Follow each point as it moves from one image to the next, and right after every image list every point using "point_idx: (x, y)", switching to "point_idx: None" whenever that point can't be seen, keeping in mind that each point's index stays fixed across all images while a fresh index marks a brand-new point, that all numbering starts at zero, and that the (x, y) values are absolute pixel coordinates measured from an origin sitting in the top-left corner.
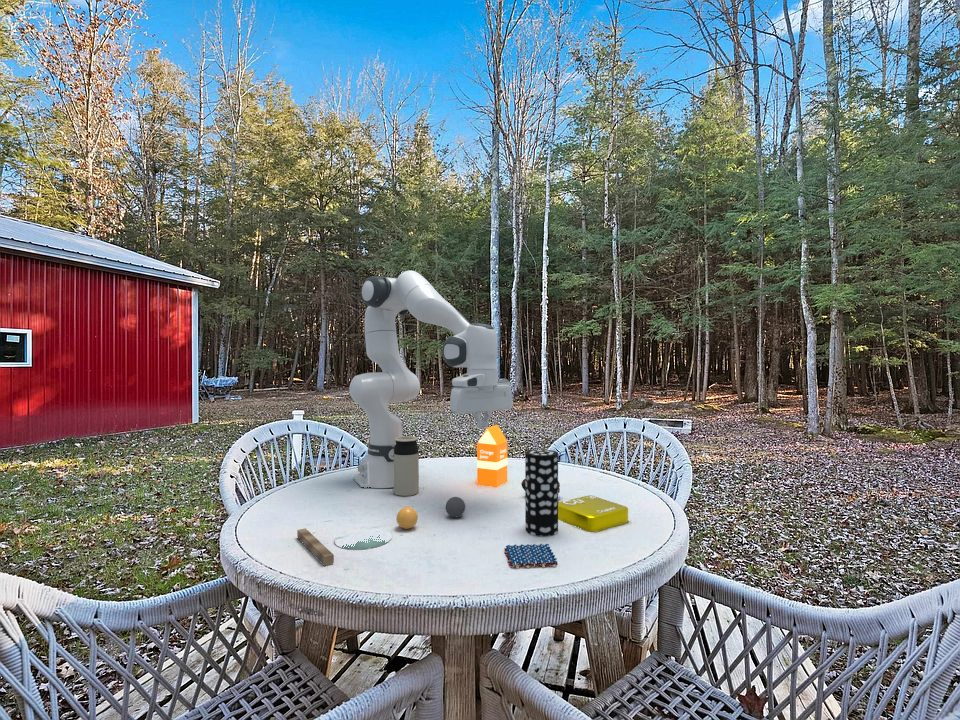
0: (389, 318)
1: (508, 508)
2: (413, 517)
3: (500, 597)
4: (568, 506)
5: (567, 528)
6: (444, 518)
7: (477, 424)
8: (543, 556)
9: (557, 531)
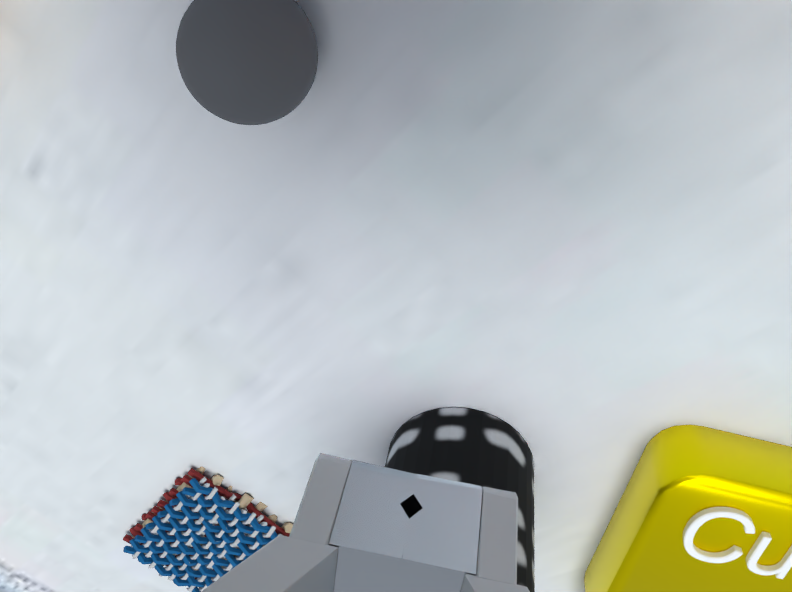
0: None
1: (637, 169)
2: None
3: (14, 585)
4: (667, 543)
5: (558, 520)
6: None
7: (306, 501)
8: None
9: None
